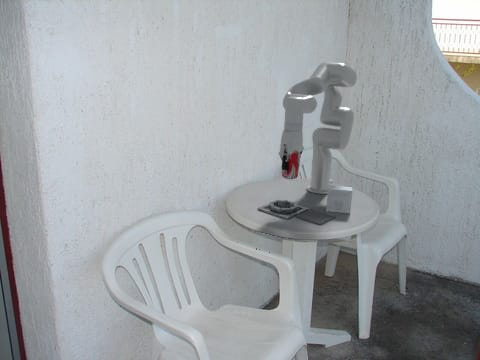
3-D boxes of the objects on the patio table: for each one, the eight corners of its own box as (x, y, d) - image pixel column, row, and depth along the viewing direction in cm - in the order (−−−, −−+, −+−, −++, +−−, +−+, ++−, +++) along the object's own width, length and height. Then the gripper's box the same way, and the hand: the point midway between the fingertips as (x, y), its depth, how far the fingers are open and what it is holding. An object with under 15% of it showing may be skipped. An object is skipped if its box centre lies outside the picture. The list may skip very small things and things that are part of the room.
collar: (279, 201, 213) (279, 196, 212) (308, 210, 203) (309, 204, 202) (257, 209, 202) (257, 204, 201) (287, 219, 192) (287, 214, 191)
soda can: (297, 180, 193) (299, 153, 189) (280, 179, 194) (282, 151, 191) (298, 176, 200) (300, 149, 196) (282, 174, 201) (284, 147, 197)
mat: (311, 210, 203) (311, 209, 203) (335, 217, 196) (335, 216, 195) (296, 217, 194) (296, 215, 194) (320, 225, 187) (320, 223, 187)
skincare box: (349, 208, 207) (352, 186, 204) (350, 214, 201) (352, 191, 198) (326, 206, 209) (328, 184, 206) (325, 211, 203) (328, 188, 200)
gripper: (298, 123, 199) (295, 163, 204) (273, 128, 187) (270, 170, 192) (312, 125, 194) (309, 166, 199) (287, 131, 182) (285, 174, 187)
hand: (290, 167), depth 196 cm, fingers closed on soda can, 6 cm apart
